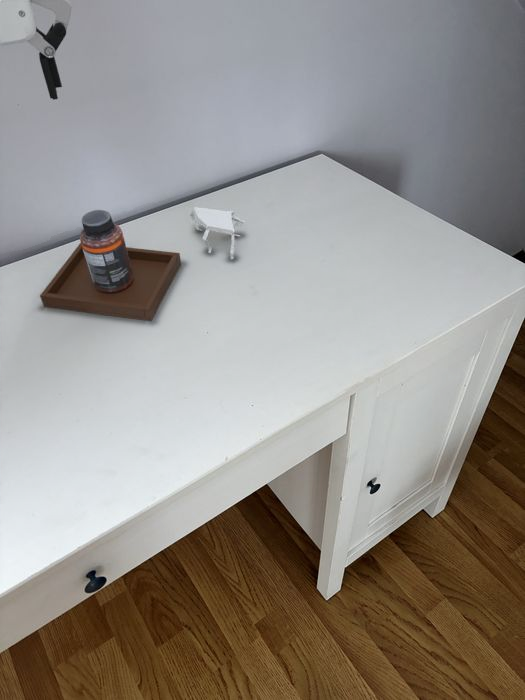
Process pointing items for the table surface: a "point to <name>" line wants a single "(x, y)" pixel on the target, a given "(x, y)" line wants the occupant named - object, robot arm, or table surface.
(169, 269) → the serving tray
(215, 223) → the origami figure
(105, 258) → the supplement bottle
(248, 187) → the table surface
